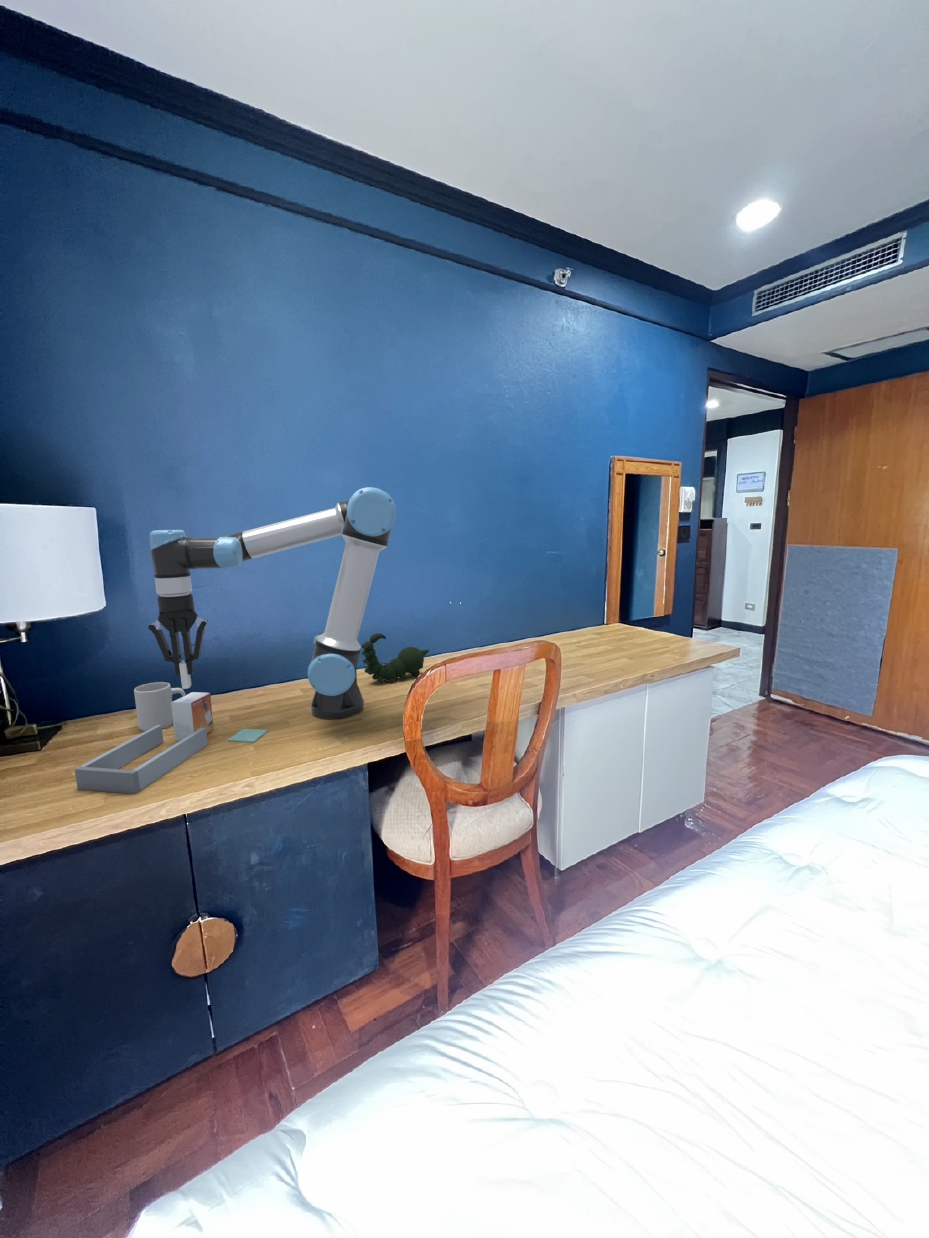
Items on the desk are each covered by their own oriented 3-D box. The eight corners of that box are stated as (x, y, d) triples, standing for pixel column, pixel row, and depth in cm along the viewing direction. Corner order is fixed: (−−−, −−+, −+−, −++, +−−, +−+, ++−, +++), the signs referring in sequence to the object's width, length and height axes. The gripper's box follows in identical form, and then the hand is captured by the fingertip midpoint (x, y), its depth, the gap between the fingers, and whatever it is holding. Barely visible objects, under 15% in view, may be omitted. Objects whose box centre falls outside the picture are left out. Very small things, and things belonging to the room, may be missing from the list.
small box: (194, 742, 125) (190, 703, 123) (174, 741, 126) (170, 701, 124) (214, 729, 133) (211, 692, 131) (195, 728, 134) (191, 691, 132)
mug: (140, 733, 131) (135, 694, 128) (136, 723, 137) (131, 686, 135) (191, 722, 138) (187, 684, 136) (185, 713, 144) (181, 677, 142)
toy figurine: (374, 693, 166) (437, 674, 180) (367, 639, 162) (432, 624, 175) (363, 686, 174) (424, 668, 187) (356, 634, 170) (419, 620, 183)
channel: (207, 744, 124) (206, 727, 123) (135, 793, 102) (133, 773, 101) (159, 741, 126) (157, 724, 125) (77, 789, 103) (74, 769, 102)
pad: (268, 731, 132) (267, 730, 132) (253, 742, 125) (253, 741, 125) (243, 730, 133) (243, 728, 133) (228, 741, 126) (227, 739, 126)
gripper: (207, 590, 126) (217, 679, 130) (149, 593, 122) (161, 685, 127) (201, 594, 119) (212, 688, 123) (139, 597, 115) (153, 694, 120)
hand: (186, 686), depth 125 cm, fingers closed
